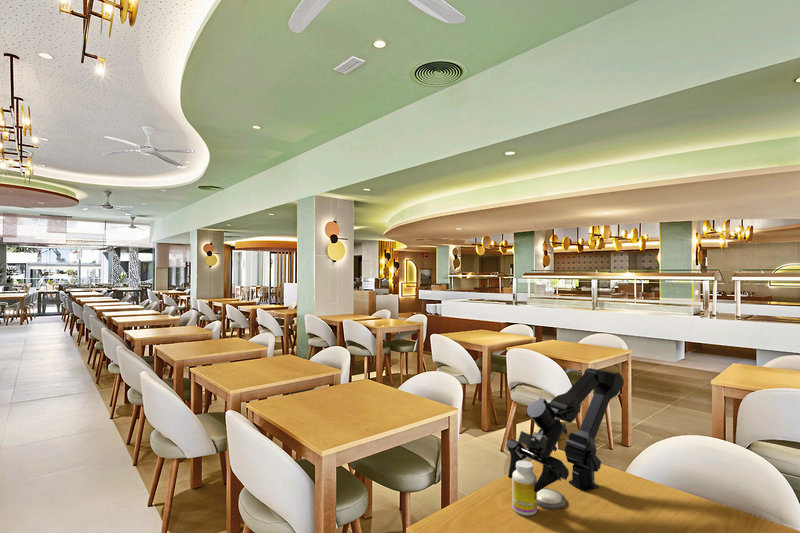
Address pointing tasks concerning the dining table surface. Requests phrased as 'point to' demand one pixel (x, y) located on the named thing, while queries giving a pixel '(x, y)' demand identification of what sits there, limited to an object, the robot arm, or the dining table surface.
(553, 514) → the dining table surface
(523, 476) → the supplement bottle
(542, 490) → the push button
